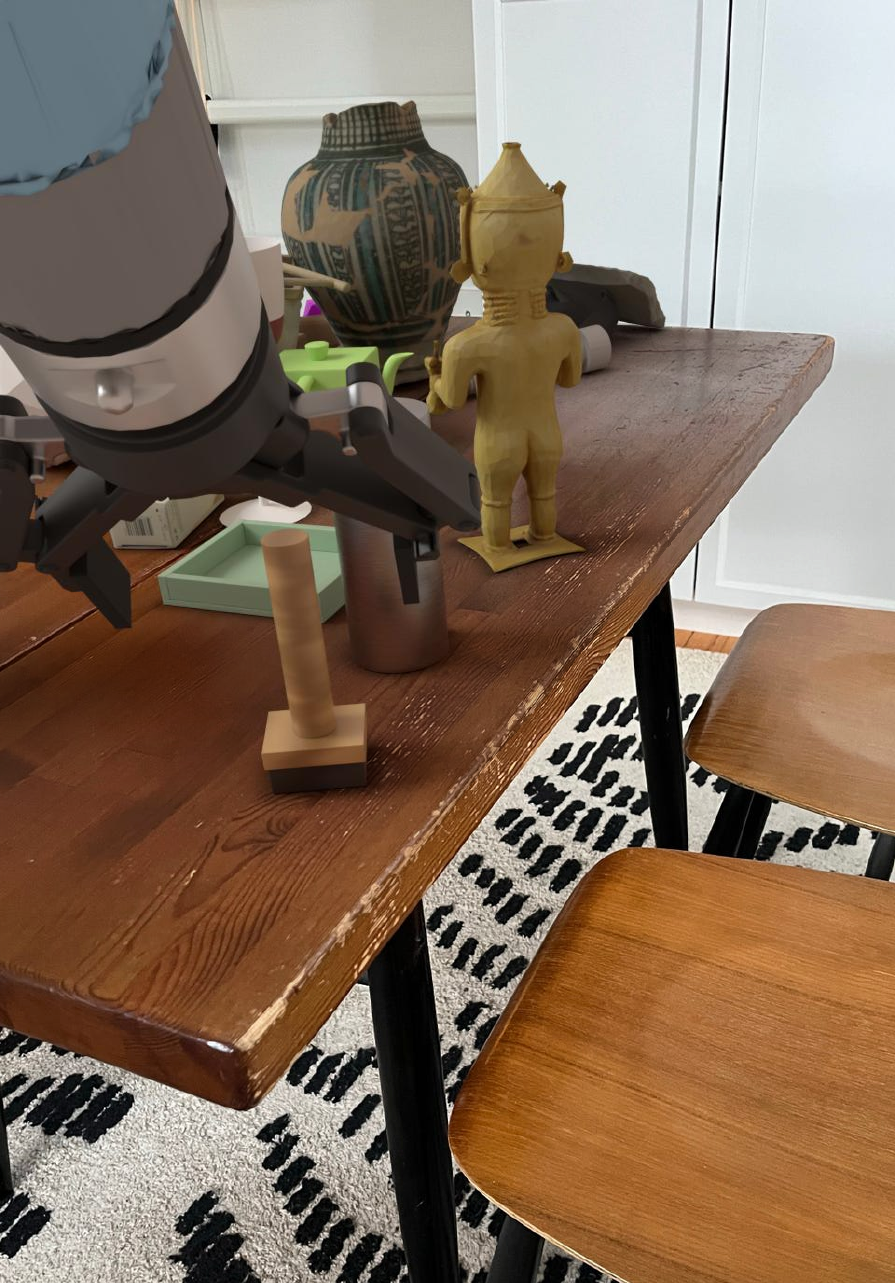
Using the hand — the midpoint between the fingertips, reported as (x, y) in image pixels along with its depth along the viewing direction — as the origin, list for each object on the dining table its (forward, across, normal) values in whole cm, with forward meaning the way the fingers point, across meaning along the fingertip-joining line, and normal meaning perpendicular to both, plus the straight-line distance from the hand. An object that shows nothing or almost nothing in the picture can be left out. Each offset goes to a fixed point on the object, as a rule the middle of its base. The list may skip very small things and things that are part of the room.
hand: (266, 589), depth 57 cm
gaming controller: (+88, +26, +66) cm, 113 cm away
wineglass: (+51, -8, +28) cm, 59 cm away
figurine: (+42, +15, +19) cm, 49 cm away
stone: (+82, +28, +74) cm, 113 cm away
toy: (+86, -3, +74) cm, 114 cm away
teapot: (+64, -2, +41) cm, 76 cm away
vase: (+81, +4, +58) cm, 100 cm away
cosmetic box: (+45, -18, +25) cm, 54 cm away
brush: (+18, 0, -5) cm, 19 cm away
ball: (+58, -24, +54) cm, 83 cm away
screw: (+73, +20, +55) cm, 94 cm away
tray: (+39, -5, +16) cm, 43 cm away
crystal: (+102, -10, +80) cm, 130 cm away
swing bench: (+62, -4, +52) cm, 81 cm away
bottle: (+29, +5, +6) cm, 30 cm away
